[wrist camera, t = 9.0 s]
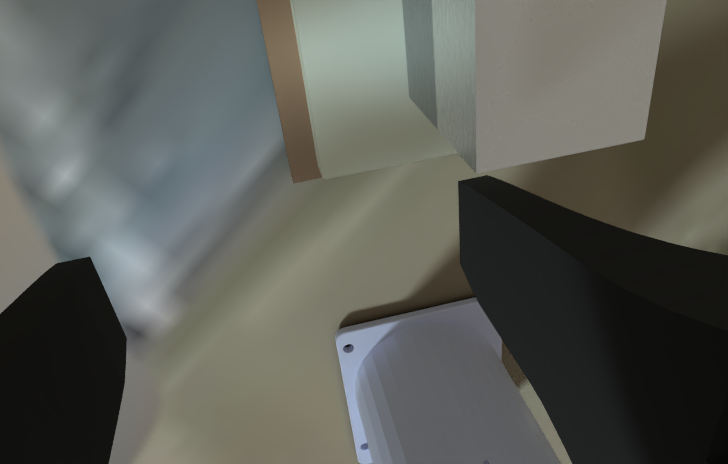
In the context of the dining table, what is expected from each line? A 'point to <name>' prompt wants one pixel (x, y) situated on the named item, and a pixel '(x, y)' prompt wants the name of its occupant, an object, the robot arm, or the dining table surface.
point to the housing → (532, 74)
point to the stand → (344, 87)
